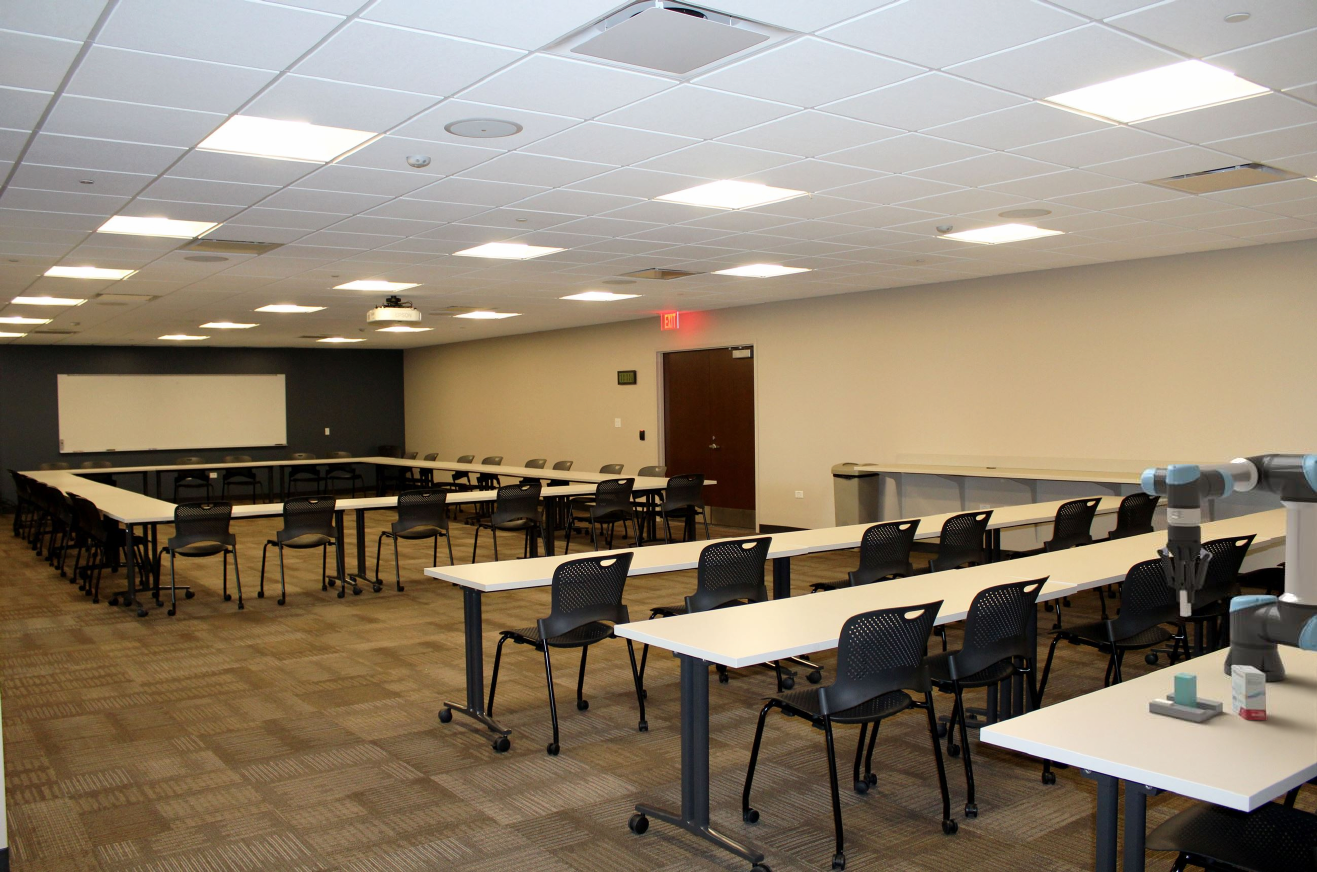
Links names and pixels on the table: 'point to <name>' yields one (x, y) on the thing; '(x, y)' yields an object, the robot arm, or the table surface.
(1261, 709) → the ink box
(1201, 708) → the socket
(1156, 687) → the table surface
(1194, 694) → the plug
